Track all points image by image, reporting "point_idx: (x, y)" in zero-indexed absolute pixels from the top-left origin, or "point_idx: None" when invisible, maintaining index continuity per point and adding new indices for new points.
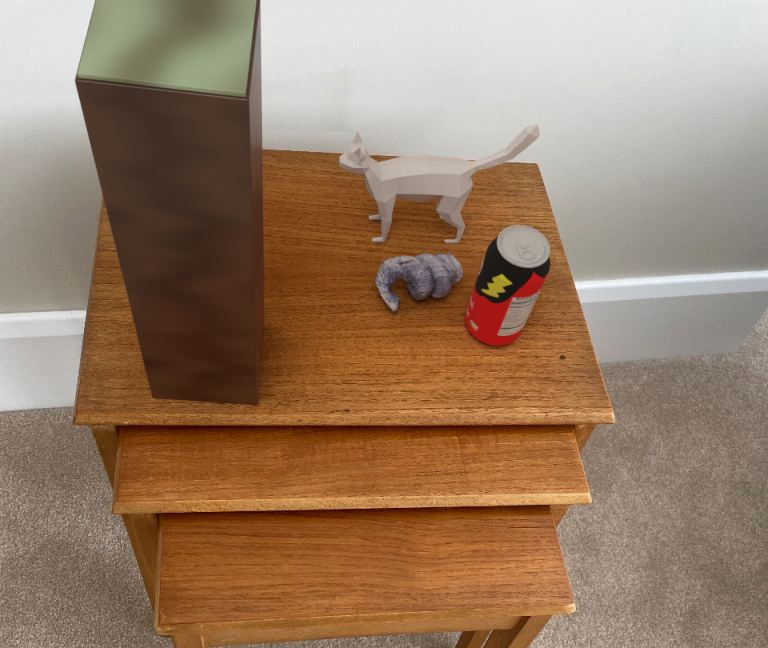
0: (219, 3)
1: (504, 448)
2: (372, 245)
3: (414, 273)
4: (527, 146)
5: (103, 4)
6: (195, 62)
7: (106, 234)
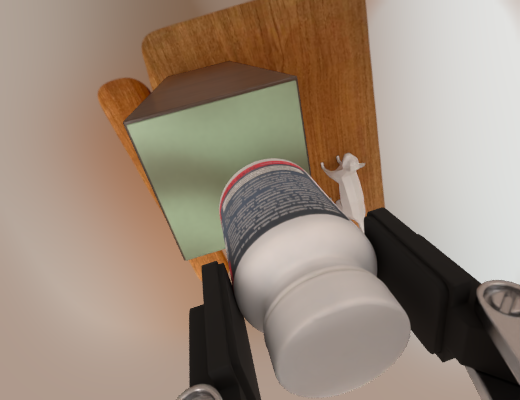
0: None
1: (213, 254)
2: (318, 163)
3: None
4: None
5: (244, 104)
6: (202, 214)
7: None
